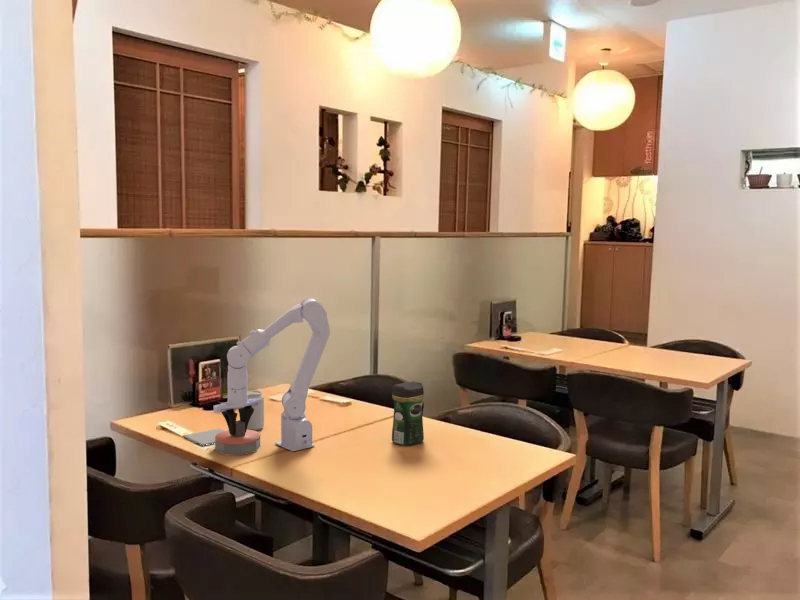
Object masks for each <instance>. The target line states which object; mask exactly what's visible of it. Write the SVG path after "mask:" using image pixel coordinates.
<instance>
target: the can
mask: <svg viewBox="0 0 800 600" xmlns="http://www.w3.org/2000/svg"><path fill="white" fill-rule="evenodd" d="M262 393H263V392H262V391H260V390H248V399H254V398H259V399H261V405H260V406H252V408H254V412H253V414H252V416H251V418H250V420H249V423H248V426H247V430H254V431H257V432H258V431H260V430H262V428H264V426H265V396H264V395H263V394H262Z"/></svg>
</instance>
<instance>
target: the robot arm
mask: <svg viewBox="0 0 800 600" xmlns="http://www.w3.org/2000/svg"><path fill="white" fill-rule="evenodd" d="M303 319H305V321H306V322H307V323H308V326H309V327H310V328H309V329H310V330H311V332H312V334H311V336H310V340H309V342H308V344H307V347H306V349H305V352H304V354H303V357H302V359H301V361H300V365H299V367H298V370H297V372H296V374H295V377H294V380H293V382H292V383H291V384H290V386H289V388H288V389H287V391H286V392H285V393H284V394H283V396H282V398H281V404H282V406H283V412H282V413H281V414H280V416H281V417H280V422H281V423H280V431H281V432H280V433H281V434H280V435H281V436H280V438H281V439H280V441H276V442H275V446H278V447H279V446H280V447H281V448H283V449H286V450H289V451H291V452H296V451H297V452H298V451H299V450H304V449H308V448H309V449H310V448H312V447H313V448H314V447H316V445H315V444H314V443H313V425H312V423H311V421H310V420H308V419H307V416H306V415H307V413H306V412H305V411H306V409H307V407H306V406H307V405H306V400H307V397H308V393H309V388H310V385H311V383H312V380H313V378H314V375H315V373H316V370H317V367H318V365H319V363H320V360H321V358H322V355H323V352H324V349H325V347H326V346H327V345H326V344H327V343H328V341H329V337H330V336H331V328H330V324H329V319H328V313H327V311H326V310H325V308H324V306H323V304H322V303H320V302H319V301H318V300H317V299H315V298H313V297H307V298H305V299H303V300H301V302H299V303H297V304H295V305H294V306H292V307H290V309H288V310H287V311H285V312H284V313H283V314H282V315H281V316H280V317H278V318H277V319H275V320H274V321H273V322H272V323H270V324H269V325H268V326H267V327H266V328H265V329H259V328H258V329H255V330H254V329H252V330H251V331H249V335H248V336H247V337H245V338H244V339H242V340H241V341H240V340H238V341H237V342H236V345H234V346H232V347H230V349H228V351H227V354H226V359H227V363H228V365H227V401H226V402H223V403H219V404H215V405H213V413H215V414H220V413H221V414H222V416H223V418H224V420H225V422H226V425H227V427H228V430H229V433H230V434H231V435H235V433H236V421H237V419H238V418H237V417H238V415H239V420H240V421H243V422H245V433H246V430H247V426H248V423H249V420H250V418H251V416H252V414H253V412H254V408H252V406H260V405H261V399H259V398H254V399H248V391H249V388H248V386H249V384H248V381H249V380H248V377H249V375H248V369H247V364H248V362H249V359H252V358H254V357H256V355H258V354H259V353H261V352H262V351H263V350H265V349H266V348H267V347H268V346H270V344H271V339H272V338H273V337H275V336H276V335H278V334H279V333H280V332H282V331H284V330H285V329H287V328H288V327H289V326H290V325H293V324H296V323H304V320H303ZM235 410H237V411H238V413H239V414H238V413H237V412H235Z"/></svg>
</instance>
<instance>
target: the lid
mask: <svg viewBox="0 0 800 600" xmlns="http://www.w3.org/2000/svg"><path fill="white" fill-rule="evenodd" d="M259 439H260V440H261V434H260V432H258V430H257V431H254V430H246V433H245V422H243V421H240V419H239V420H236V433H235V435H231V434H230V433H229V429H228V430H224V432H221V433H218V434H217V435H216V436H215V440H216V441H217V442H218V443H221V444H227V445H241V444H248V443H252V442H255V441H257V440H259Z"/></svg>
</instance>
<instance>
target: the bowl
mask: <svg viewBox="0 0 800 600" xmlns="http://www.w3.org/2000/svg"><path fill="white" fill-rule="evenodd" d="M260 447H261V438H260V439H259V440H257V441H255V442H252V443H248V444H241V445H227V444H221V443H218V442H217V441H216V440H215V444H214V450H215V451H216V452H218V453H220V454H222V455H226V456H228V455H231V456H232V455H235V456H239V455H240V456H242V455H241V454H243V455H246V453H247V454H251V453H255V452H254V451H256V452H257V451H258V450H259V448H260ZM250 452H251V453H250ZM227 454H228V455H227Z"/></svg>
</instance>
